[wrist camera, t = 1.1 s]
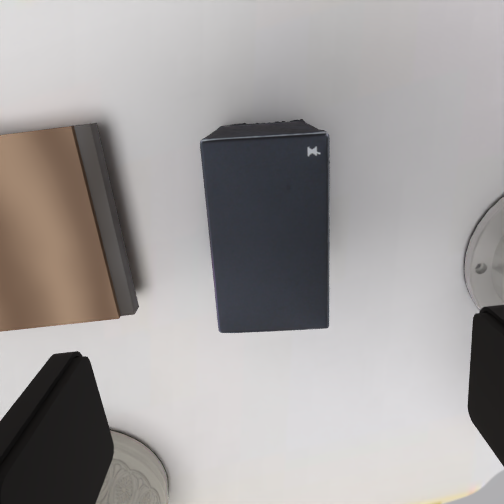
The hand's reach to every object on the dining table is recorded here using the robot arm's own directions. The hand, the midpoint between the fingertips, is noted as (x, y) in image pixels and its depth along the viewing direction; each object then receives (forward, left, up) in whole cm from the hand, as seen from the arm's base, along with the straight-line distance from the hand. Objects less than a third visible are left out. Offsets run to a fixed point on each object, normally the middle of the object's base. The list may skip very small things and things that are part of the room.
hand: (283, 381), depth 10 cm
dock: (+18, 0, -22) cm, 28 cm away
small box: (0, 0, -22) cm, 22 cm away
